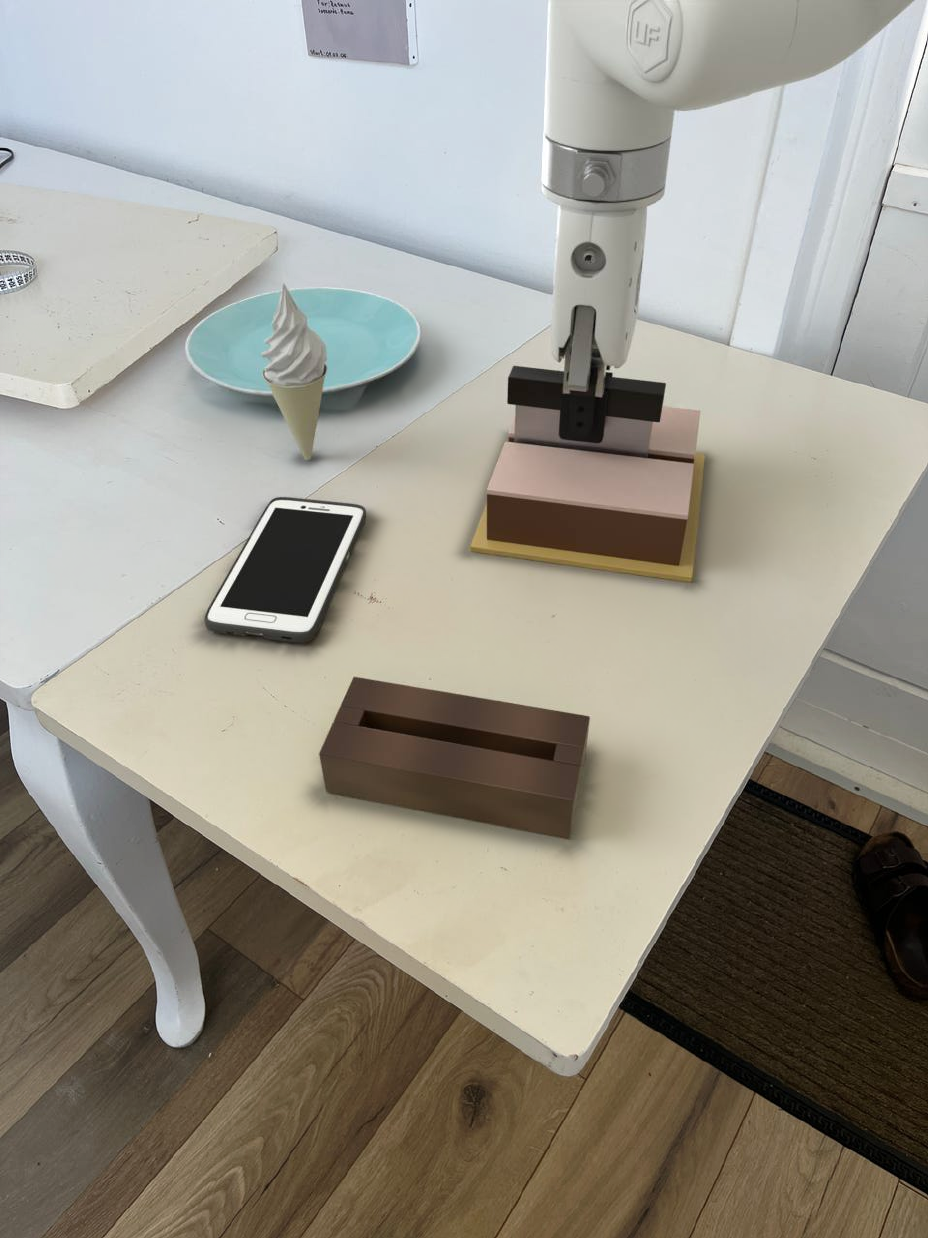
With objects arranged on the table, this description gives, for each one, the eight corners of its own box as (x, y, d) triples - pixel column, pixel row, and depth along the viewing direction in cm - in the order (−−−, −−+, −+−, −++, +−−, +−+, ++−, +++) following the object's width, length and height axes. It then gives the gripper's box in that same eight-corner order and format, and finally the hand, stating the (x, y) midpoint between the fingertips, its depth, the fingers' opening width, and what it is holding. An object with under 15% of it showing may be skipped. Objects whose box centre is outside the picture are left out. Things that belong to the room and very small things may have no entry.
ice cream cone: (349, 462, 79) (329, 286, 68) (294, 483, 77) (265, 304, 66) (320, 436, 82) (297, 263, 72) (267, 455, 80) (235, 280, 69)
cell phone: (201, 633, 64) (198, 622, 63) (274, 504, 74) (272, 494, 74) (312, 647, 63) (310, 636, 62) (370, 514, 73) (369, 504, 72)
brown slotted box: (585, 755, 56) (590, 715, 53) (569, 840, 52) (573, 801, 49) (358, 715, 58) (353, 675, 56) (325, 792, 54) (318, 753, 52)
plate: (251, 300, 102) (246, 274, 100) (450, 322, 97) (449, 295, 95) (146, 404, 86) (139, 375, 84) (378, 436, 82) (375, 407, 80)
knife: (648, 495, 73) (666, 382, 67) (646, 509, 72) (664, 395, 66) (509, 476, 75) (512, 364, 69) (504, 489, 74) (507, 376, 68)
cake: (704, 458, 78) (714, 405, 75) (691, 582, 67) (702, 526, 64) (513, 436, 81) (514, 383, 78) (470, 551, 70) (469, 495, 66)
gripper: (654, 217, 51) (621, 498, 64) (677, 129, 62) (645, 382, 75) (517, 207, 53) (511, 484, 65) (564, 123, 64) (551, 373, 76)
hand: (583, 428), depth 70 cm, fingers closed on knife, 2 cm apart
